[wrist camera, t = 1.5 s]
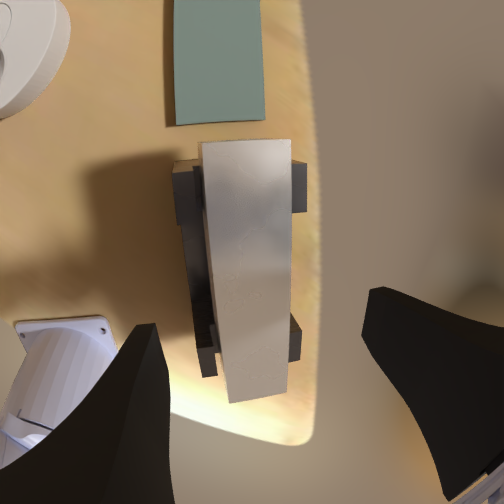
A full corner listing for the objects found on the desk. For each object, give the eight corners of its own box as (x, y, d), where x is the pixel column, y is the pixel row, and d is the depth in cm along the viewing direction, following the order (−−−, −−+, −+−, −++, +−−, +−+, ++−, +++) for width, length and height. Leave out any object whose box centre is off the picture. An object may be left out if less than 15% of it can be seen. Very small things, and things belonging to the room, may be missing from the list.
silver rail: (271, 356, 17) (286, 392, 14) (220, 365, 16) (229, 403, 14) (266, 138, 12) (290, 139, 10) (197, 142, 12) (202, 143, 9)
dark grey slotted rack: (270, 305, 20) (299, 360, 15) (194, 316, 19) (202, 377, 14) (267, 154, 17) (306, 163, 11) (175, 161, 16) (171, 172, 10)
